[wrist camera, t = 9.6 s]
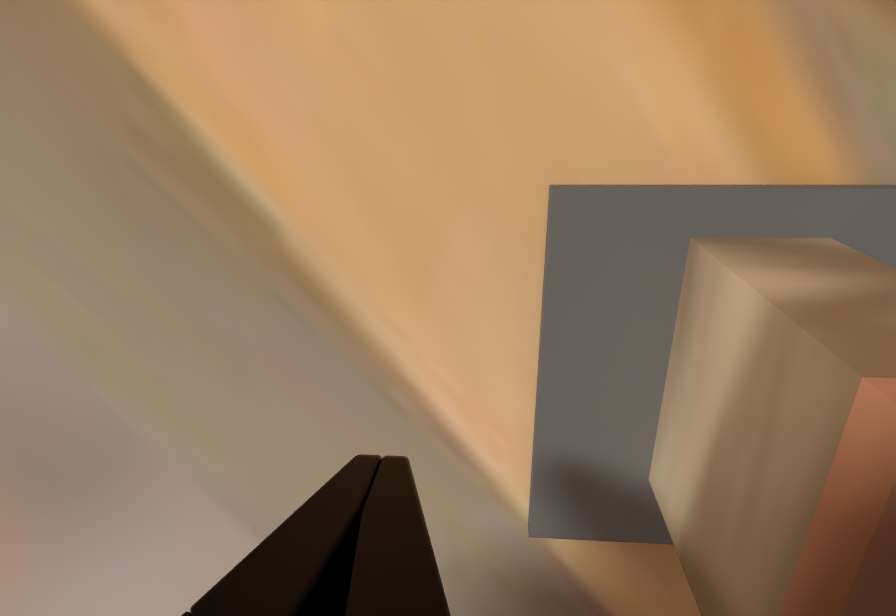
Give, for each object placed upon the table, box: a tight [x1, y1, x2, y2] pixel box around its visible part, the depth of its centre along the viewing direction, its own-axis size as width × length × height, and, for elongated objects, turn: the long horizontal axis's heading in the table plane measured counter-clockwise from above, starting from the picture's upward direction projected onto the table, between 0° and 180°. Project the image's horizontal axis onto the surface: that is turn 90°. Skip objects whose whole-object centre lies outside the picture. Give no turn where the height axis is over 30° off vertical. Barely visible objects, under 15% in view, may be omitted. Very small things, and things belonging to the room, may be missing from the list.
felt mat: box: [528, 185, 896, 544], centre depth 12 cm, size 12×9×1 cm
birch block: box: [649, 238, 896, 616], centre depth 9 cm, size 3×6×6 cm, turn 1°
